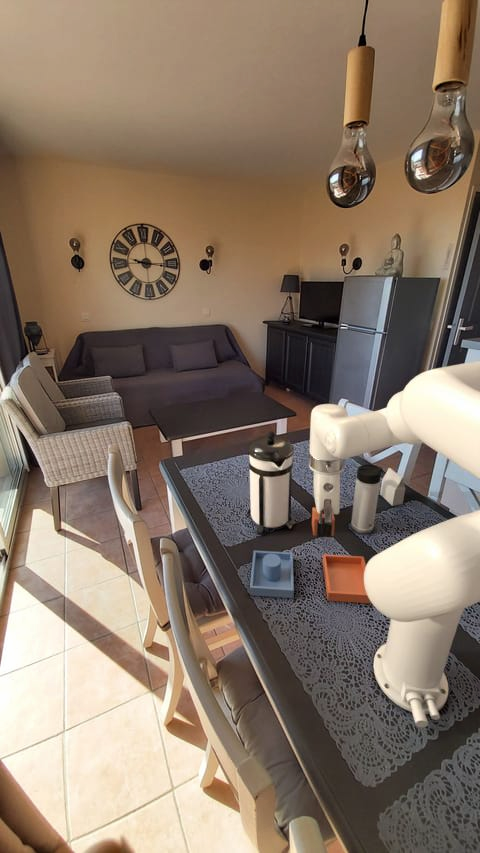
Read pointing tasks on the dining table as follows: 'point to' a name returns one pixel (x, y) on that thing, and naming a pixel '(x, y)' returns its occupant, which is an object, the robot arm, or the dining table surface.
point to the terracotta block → (316, 518)
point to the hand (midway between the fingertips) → (322, 528)
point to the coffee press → (270, 481)
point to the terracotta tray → (345, 578)
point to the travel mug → (366, 498)
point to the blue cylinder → (271, 567)
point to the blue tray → (276, 588)
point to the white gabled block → (392, 488)
